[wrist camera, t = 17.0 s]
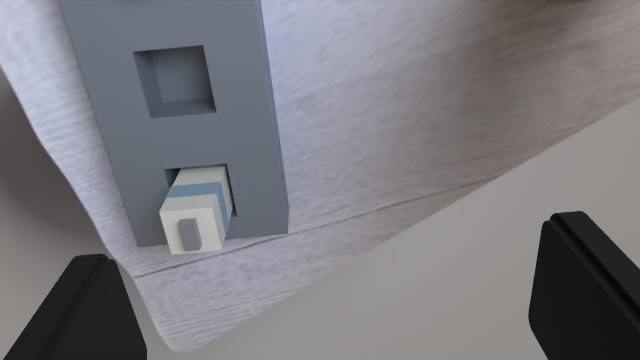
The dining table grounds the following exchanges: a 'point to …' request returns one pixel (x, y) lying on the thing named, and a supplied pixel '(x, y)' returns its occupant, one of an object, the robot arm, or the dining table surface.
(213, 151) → the panel
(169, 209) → the plug
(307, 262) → the dining table surface
